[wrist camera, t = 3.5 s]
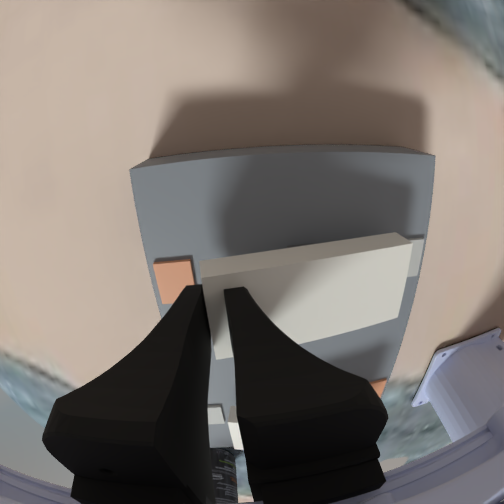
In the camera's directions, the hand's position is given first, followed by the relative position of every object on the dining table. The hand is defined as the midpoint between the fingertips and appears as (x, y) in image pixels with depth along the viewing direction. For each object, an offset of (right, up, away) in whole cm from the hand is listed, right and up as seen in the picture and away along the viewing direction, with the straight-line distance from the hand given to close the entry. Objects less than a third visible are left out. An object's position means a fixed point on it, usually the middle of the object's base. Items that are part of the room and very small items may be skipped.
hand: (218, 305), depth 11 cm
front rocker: (+3, +1, +1) cm, 4 cm away
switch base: (+3, -2, +7) cm, 8 cm away
